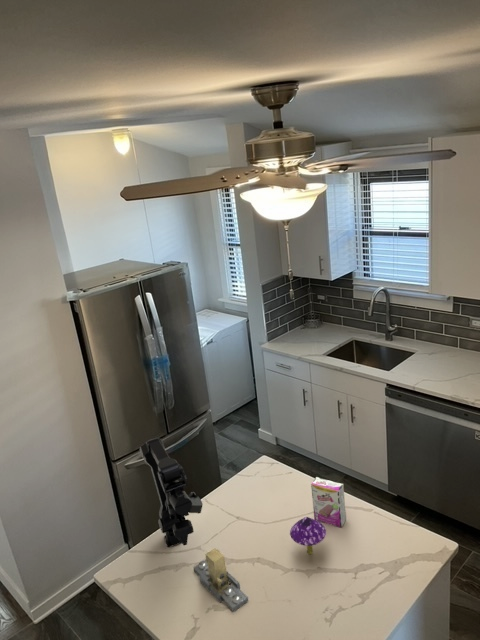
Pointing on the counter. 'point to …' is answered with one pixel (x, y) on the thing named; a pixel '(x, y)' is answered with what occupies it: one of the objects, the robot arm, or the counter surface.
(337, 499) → the candy bar box
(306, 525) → the decorative mushroom
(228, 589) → the chain ends
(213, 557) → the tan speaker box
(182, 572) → the counter surface
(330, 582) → the counter surface
